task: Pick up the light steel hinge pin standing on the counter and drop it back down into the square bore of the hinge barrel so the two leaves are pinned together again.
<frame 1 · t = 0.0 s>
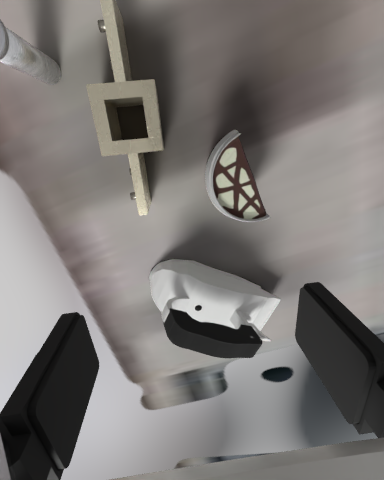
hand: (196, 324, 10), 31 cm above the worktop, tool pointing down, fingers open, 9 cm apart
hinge: (134, 123, 35), on the worktop
food container: (218, 177, 39), on the worktop
iron: (208, 291, 48), on the worktop
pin: (49, 71, 32), on the worktop
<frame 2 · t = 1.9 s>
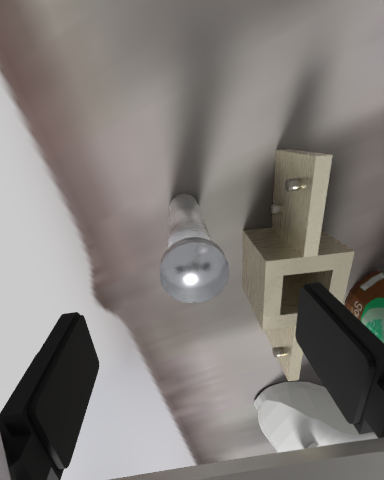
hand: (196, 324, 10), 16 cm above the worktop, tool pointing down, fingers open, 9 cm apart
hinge: (274, 256, 28), on the worktop
food container: (357, 304, 32), on the worktop
iron: (314, 406, 41), on the worktop
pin: (183, 208, 25), on the worktop
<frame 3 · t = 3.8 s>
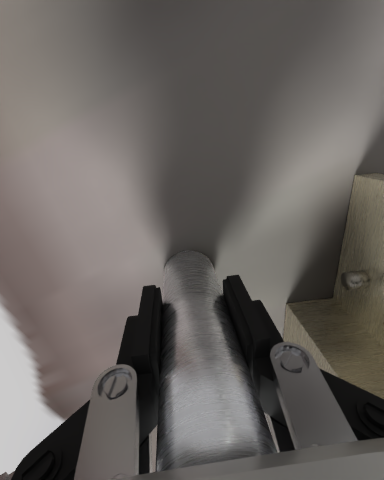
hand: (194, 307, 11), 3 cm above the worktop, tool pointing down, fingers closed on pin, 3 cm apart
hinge: (333, 339, 18), on the worktop
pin: (189, 273, 14), on the worktop, touching gripper
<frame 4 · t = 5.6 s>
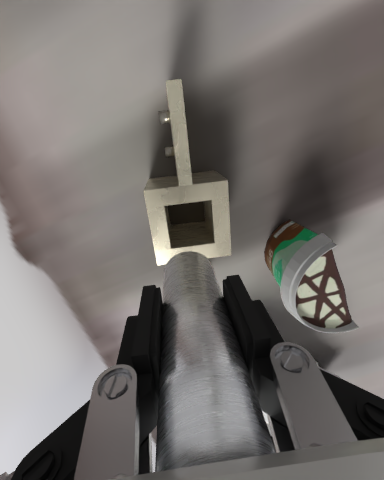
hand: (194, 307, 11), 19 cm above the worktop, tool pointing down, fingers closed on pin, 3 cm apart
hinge: (185, 206, 29), on the worktop
food container: (278, 256, 34), on the worktop
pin: (188, 273, 14), point 16 cm above the worktop, touching gripper
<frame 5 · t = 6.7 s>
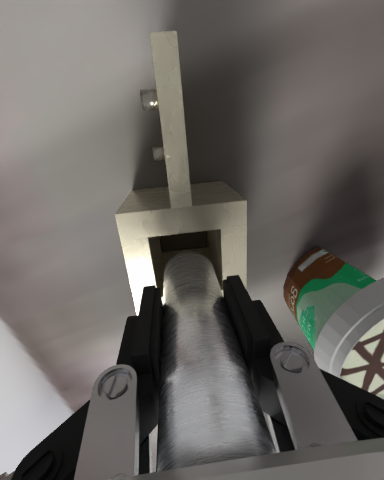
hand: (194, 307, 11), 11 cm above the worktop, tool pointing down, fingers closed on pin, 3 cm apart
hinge: (182, 227, 22), on the worktop
food container: (300, 292, 26), on the worktop
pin: (189, 274, 14), point 8 cm above the worktop, touching gripper
when the fingers open (8 cm above the worktop, at t = 7.5 s): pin drops 5 cm, resting in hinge.
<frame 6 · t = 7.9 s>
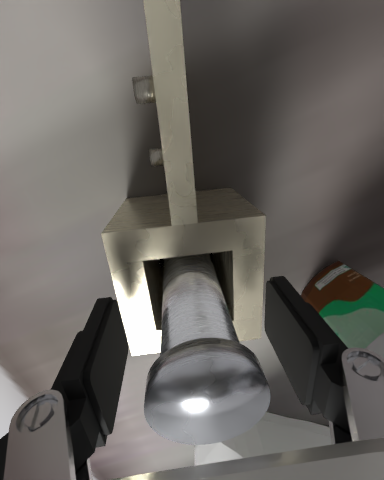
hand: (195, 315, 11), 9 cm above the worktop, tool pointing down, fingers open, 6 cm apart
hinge: (184, 240, 19), on the worktop
food container: (316, 310, 23), on the worktop
iron: (275, 441, 32), on the worktop
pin: (184, 240, 19), resting in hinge
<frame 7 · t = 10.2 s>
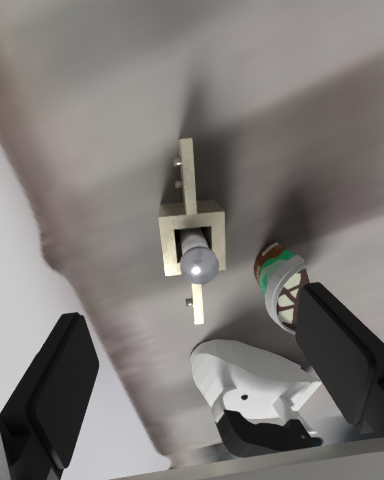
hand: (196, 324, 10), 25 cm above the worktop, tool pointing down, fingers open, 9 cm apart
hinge: (189, 227, 35), on the worktop
food container: (265, 271, 39), on the worktop
iron: (246, 367, 47), on the worktop
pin: (189, 226, 35), resting in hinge
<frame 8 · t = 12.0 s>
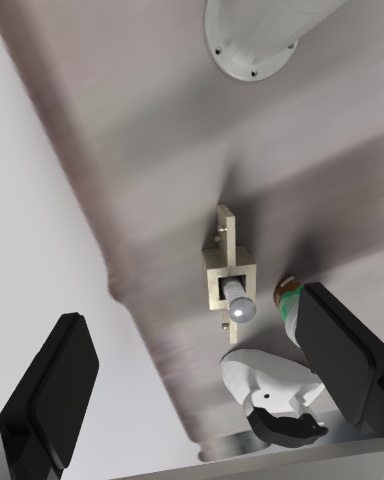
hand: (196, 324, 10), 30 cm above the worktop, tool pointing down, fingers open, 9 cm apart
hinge: (223, 266, 44), on the worktop
food container: (282, 297, 49), on the worktop
iron: (265, 370, 57), on the worktop
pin: (223, 266, 44), resting in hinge
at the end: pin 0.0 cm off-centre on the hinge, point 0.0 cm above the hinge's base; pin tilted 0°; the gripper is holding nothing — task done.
